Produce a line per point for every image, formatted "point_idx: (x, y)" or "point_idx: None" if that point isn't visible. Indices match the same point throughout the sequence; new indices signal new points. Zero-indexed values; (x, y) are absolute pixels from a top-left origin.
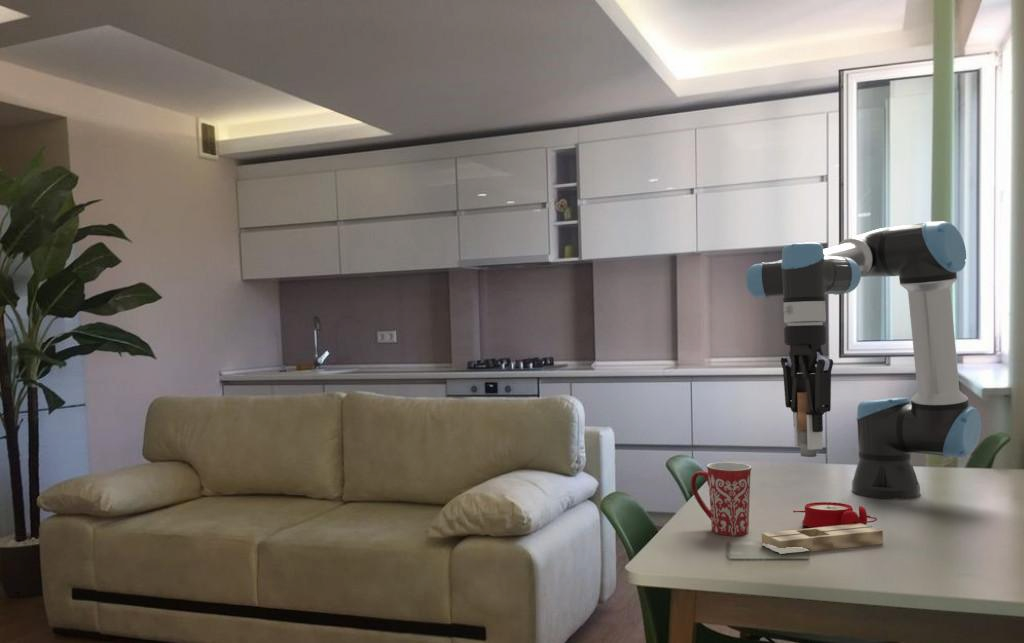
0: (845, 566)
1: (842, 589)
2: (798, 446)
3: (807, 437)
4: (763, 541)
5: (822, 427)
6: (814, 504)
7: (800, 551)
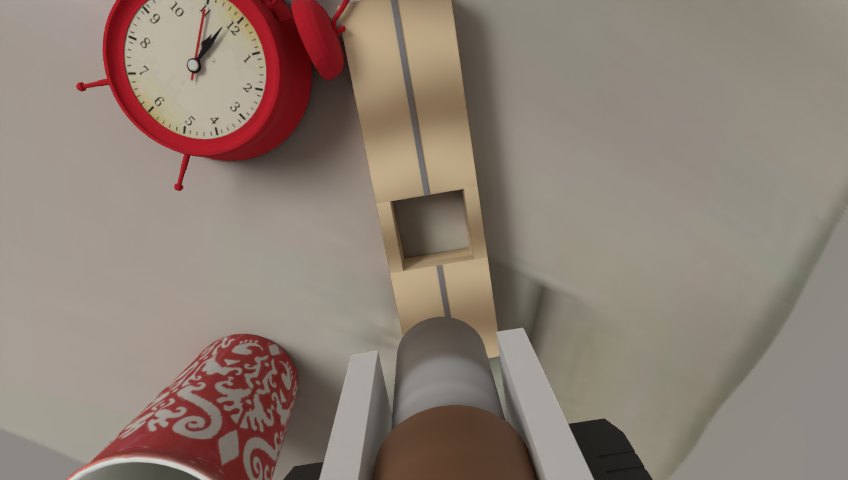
0: (625, 222)
1: (774, 309)
2: None
3: None
4: None
5: (631, 446)
6: (121, 88)
7: None
